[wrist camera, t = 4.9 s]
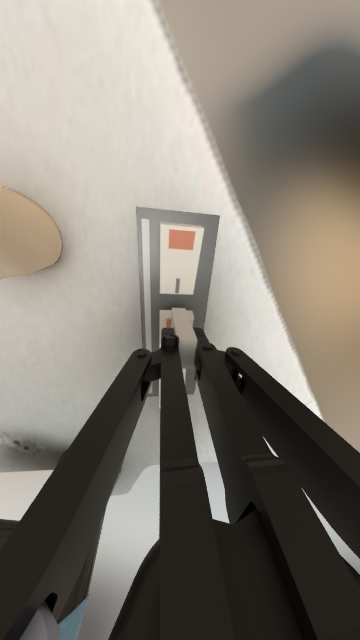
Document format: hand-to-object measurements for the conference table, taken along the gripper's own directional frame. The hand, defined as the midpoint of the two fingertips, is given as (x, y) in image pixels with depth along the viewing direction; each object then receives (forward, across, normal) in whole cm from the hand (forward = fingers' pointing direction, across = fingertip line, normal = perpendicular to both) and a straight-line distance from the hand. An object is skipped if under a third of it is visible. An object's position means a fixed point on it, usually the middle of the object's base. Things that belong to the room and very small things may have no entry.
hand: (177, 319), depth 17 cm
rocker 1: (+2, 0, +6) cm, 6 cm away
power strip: (+7, 0, -7) cm, 10 cm away
